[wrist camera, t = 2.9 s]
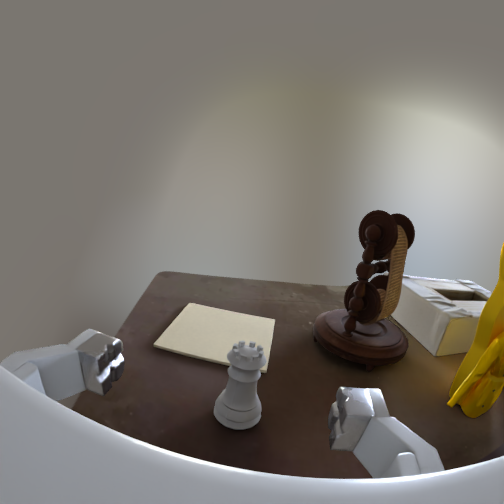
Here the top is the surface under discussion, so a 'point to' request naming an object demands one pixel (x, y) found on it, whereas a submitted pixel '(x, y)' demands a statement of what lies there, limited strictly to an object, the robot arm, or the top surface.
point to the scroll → (371, 296)
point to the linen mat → (215, 333)
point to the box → (441, 312)
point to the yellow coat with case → (483, 358)
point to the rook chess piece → (241, 388)
